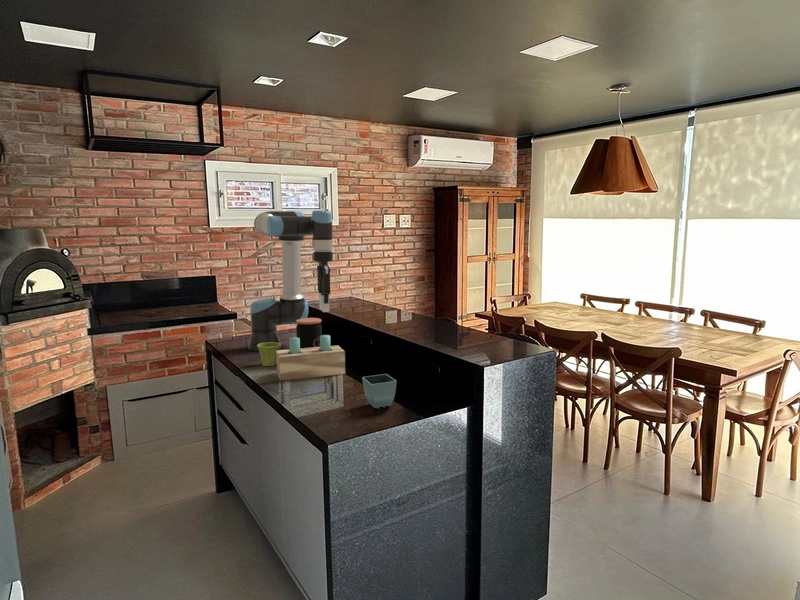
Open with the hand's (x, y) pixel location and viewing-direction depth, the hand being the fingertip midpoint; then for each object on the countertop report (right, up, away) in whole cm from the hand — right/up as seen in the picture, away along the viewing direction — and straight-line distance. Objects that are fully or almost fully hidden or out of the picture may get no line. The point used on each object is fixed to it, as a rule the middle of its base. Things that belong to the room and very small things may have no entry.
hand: (324, 310), depth 200 cm
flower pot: (+23, -30, -36) cm, 52 cm away
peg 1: (-11, -20, -1) cm, 23 cm away
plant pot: (-25, -23, +14) cm, 37 cm away
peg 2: (0, -19, +3) cm, 19 cm away
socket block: (-6, -25, +1) cm, 25 cm away
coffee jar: (-9, -22, +20) cm, 31 cm away
